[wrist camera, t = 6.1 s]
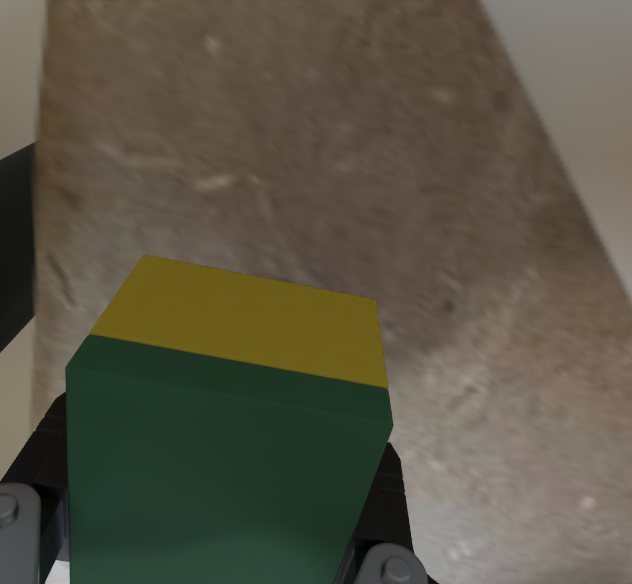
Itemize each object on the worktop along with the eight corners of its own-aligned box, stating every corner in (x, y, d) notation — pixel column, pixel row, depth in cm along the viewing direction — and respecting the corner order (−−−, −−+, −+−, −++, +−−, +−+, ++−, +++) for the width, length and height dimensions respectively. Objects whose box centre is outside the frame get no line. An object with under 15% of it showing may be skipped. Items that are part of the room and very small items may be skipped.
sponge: (308, 522, 17) (301, 674, 13) (129, 493, 16) (69, 642, 12) (377, 298, 13) (395, 426, 9) (143, 252, 12) (62, 367, 9)
